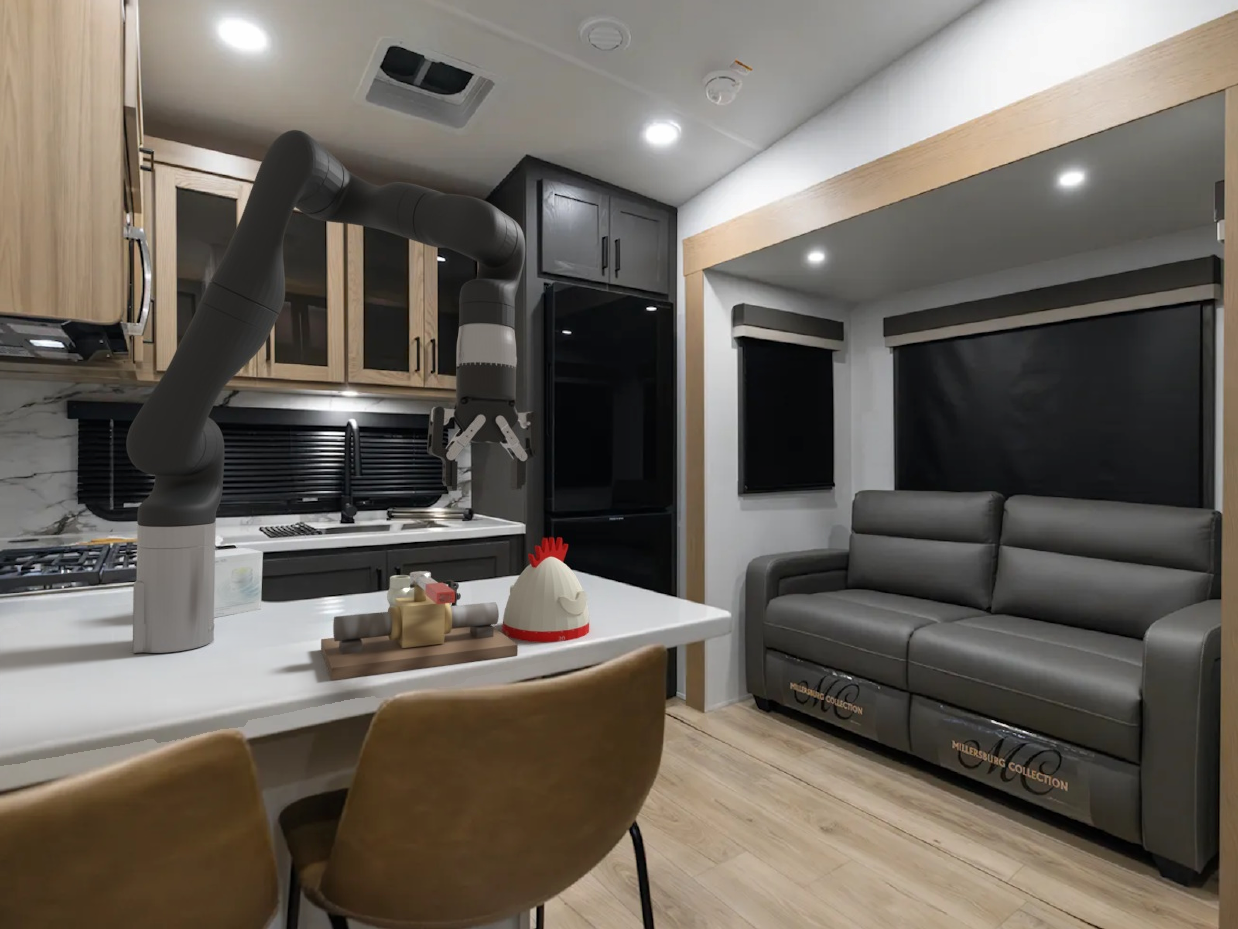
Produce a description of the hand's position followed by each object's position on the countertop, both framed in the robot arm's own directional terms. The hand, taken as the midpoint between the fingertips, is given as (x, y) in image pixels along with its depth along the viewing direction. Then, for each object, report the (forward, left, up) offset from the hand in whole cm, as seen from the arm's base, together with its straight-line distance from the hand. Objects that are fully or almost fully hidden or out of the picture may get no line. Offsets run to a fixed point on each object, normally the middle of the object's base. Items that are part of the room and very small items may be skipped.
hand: (484, 490), depth 84 cm
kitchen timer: (+16, +16, -24) cm, 32 cm away
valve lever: (-5, +5, -14) cm, 16 cm away
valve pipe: (-5, +12, -23) cm, 27 cm away
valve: (-1, +33, -24) cm, 41 cm away
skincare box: (-30, +49, -24) cm, 62 cm away
